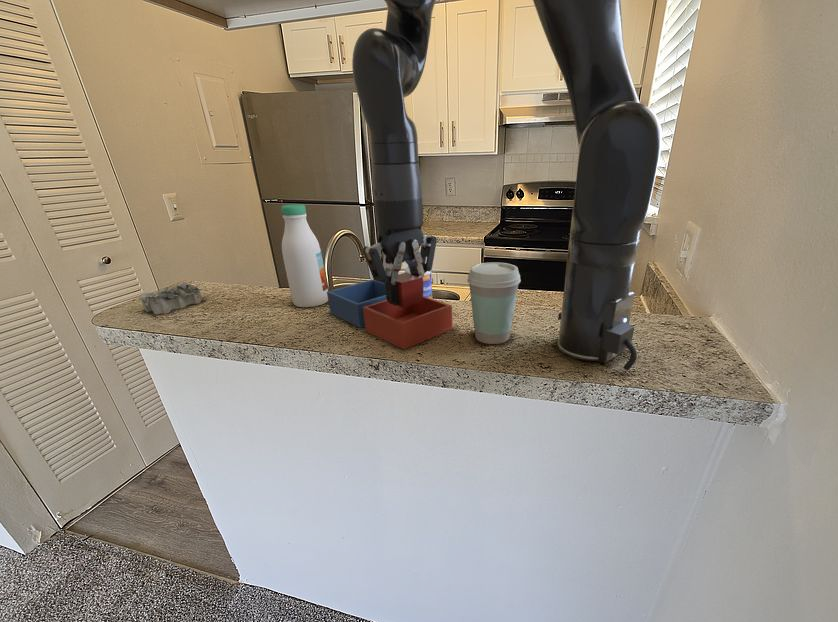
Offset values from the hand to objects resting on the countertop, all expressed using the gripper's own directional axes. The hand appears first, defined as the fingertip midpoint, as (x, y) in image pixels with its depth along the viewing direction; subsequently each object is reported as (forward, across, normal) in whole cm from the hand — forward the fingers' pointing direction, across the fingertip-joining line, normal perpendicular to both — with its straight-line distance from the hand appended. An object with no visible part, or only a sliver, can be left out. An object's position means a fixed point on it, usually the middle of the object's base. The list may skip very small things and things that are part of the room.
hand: (405, 300), depth 70 cm
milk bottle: (+6, -5, +28) cm, 29 cm away
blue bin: (+6, 0, +13) cm, 14 cm away
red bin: (+6, 0, 0) cm, 6 cm away
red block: (0, 0, 0) cm, 0 cm away
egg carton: (+6, -27, +49) cm, 56 cm away
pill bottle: (+6, +11, +10) cm, 16 cm away
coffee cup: (+6, +8, -13) cm, 16 cm away
